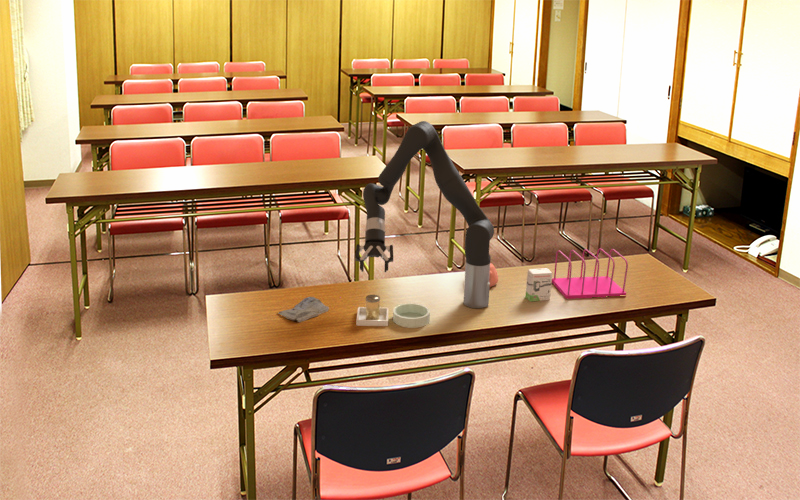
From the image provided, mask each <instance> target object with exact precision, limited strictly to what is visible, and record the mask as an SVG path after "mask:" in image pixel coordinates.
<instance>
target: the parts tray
mask: <svg viewBox="0 0 800 500" xmlns="http://www.w3.org/2000/svg"><path fill="white" fill-rule="evenodd" d="M355 323H356V326H359V327H360V326H361V327H367V326H368V327H388V326H389V307H380V319H379V320H366V306H365V307H364V306H358V307H357V311H356V322H355Z"/></svg>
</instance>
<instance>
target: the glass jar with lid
mask: <svg viewBox="0 0 800 500" xmlns="http://www.w3.org/2000/svg"><path fill="white" fill-rule="evenodd" d="M380 301H381V296H379V295H377V294H369V295H366V296H365V307H366V320H379V319H380V308H381V305H380V304H381V302H380Z"/></svg>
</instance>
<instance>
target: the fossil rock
mask: <svg viewBox="0 0 800 500" xmlns="http://www.w3.org/2000/svg"><path fill="white" fill-rule="evenodd" d="M329 309H330V307H329V306H328V305H325V304H324V303H323V302H322V300H320V299H319V298H316V297H314V296H308V297H304V298H303V299H302V300H301V301H299V302H298V303H297V304H295V306H294V307H292V308H290V309H284V310H281V311H278V312H279V313H278V312H277V313H278V314H280V315H282V316H284V317H286V318H285V319H288V320H289V321H290V320H291V321H294V322H297V323H298V322H299V323H302V321H303V322H305V321H307V320H309V319H312V318H316V317H318V316H319V315H322V314H324V313H327V312H329ZM278 314H277V315H278ZM280 315H279V316H280ZM282 316H281V317H282ZM284 317H283V318H284Z"/></svg>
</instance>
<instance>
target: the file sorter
mask: <svg viewBox="0 0 800 500" xmlns="http://www.w3.org/2000/svg"><path fill="white" fill-rule="evenodd" d="M596 251H597V252H596V255H595V254H593V252H592V251H589V249H587V248H584V249H583V251H582V255H580V254H579V253H578V252H577V251H575V249H571V250H570V251H569V257H568V256H567V255H566V254H564V252H562V251H561V250H560V249H559V250H557V251H555V262H554V273H553V277H552V282H551V284H553V285H554V287H555V288H556V289H557V290H558V291H559V292H560V294H561V295H562V297H564V298H565V299H567V300H573V299H574V300H575V299H576V298H577V299H593V298H592V297H601V298H607V297H606V296H620V295H626V296H627V292H626V291H625V288H626V281H627V277H628V270H629V262H628V260H627V259H626V257H624V256H623V255H622V254H620V252H619V251H617V250H616V249H614V248H611V249H610V250H609V253H608V252H606V251H605V250H604V249H603V248H601V247H600V248H598V249H597V250H596ZM600 251H601V252H603V254H605V255H606V256H607V257H608V261H607V267H606V268H607V269H606V275H605V276H604V275H602V276H599V273H600V261H599V253H600ZM572 252H573V253H574V254H575V255H576V256H577V257H579V258H580V259H581V266H580V267H581V268H580V274H579V275H580V276H578V277H577V276H576V277H572V268H573V267H572V260H571V259H572ZM585 252H587V253H588V254H589V255H591V256H592V257H593V258H594V259H595V263H594V272H593V276H586V268H587V266H586V261H585ZM612 252H615V253H616V254H617V255H618V256H619V257H621V258H622V259H623V260H624V261H625V272H624V280H623V283H622V284H623V285H622V287H621V286H620V285H619V284H617V282H615V281H614V280H613V279H614V273H615V266H616V263H615V260H614V258H613V257H612V256H611V255H612ZM559 253H560V254H561V255H562V256H563V257H564V258H565V259H567V260H568V268H567V276H566V277H557V267H558V266H557V265H558V264H557V263H558V257H559V256H558V254H559ZM611 261H612V270H611V271H612V273H611V276H609V271H610V270H609V269H610V262H611Z"/></svg>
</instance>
